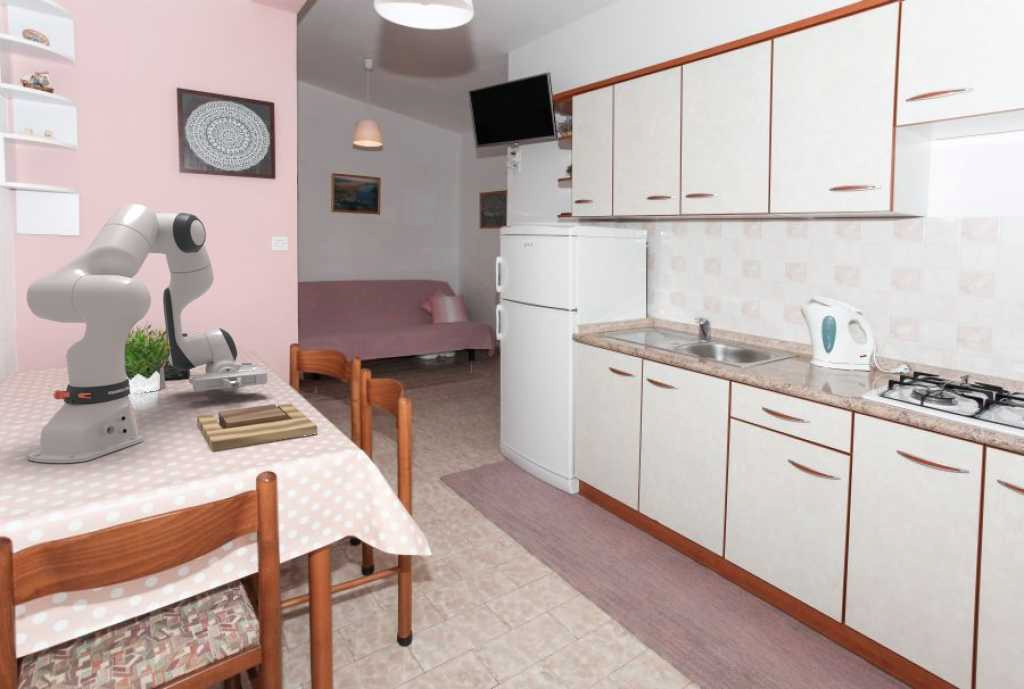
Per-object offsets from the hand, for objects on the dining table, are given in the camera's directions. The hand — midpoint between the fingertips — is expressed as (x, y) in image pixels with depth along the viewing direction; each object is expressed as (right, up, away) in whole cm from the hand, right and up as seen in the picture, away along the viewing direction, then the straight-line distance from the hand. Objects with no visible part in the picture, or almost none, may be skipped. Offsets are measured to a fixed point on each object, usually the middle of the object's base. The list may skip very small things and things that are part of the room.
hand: (234, 384), depth 173 cm
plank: (+8, -7, -11) cm, 16 cm away
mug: (-38, -3, +20) cm, 43 cm away
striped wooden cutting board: (+14, -10, -20) cm, 26 cm away
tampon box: (-38, 0, +38) cm, 54 cm away
